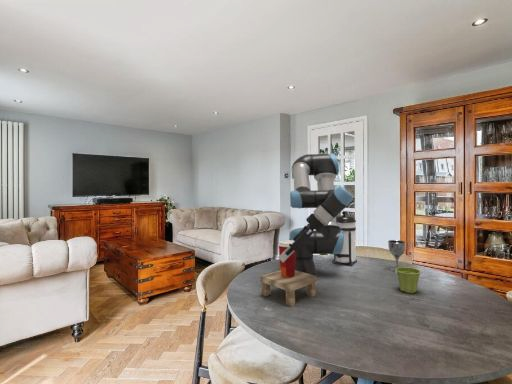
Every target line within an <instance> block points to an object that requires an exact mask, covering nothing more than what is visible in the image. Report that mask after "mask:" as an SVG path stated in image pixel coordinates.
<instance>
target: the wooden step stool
mask: <svg viewBox="0 0 512 384" xmlns="http://www.w3.org/2000/svg"><path fill="white" fill-rule="evenodd" d="M260 282H261V295H264V296H263V297H265V296H268V297H270V296H271V286H272V287H274V288H278V289H281V290H284V291H285V305H286V306H288V307H294V306H295V305H296V293H295V292H296V290H298V289H299V290H300V289H301V288H304V287H306V296H308V297H311V298H313V297H315V296H316V282H317V275H316V276H315V275H311V274H307V273H304V272H300V271H296V270H295V276H294V277H292V278H284V277H282V276H281V270H280V269H279V270H277V271H273V272H270V273H266V274H264V275H260ZM269 295H270V296H269Z"/></svg>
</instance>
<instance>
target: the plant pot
mask: <svg viewBox="0 0 512 384" xmlns="http://www.w3.org/2000/svg"><path fill="white" fill-rule="evenodd" d="M395 268H396V267H395ZM396 271H397V272H396V274H397V279H398V284H399V285H398V286H399V290H400V291H401V292H404V293H407V294H415V293H417V292H418V291H417V290H418V283H419V278H420V275H421V274H422V271H421V270H420V269H418V268H414V267H408V266H400V267H399V266H398V268H396Z"/></svg>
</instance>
